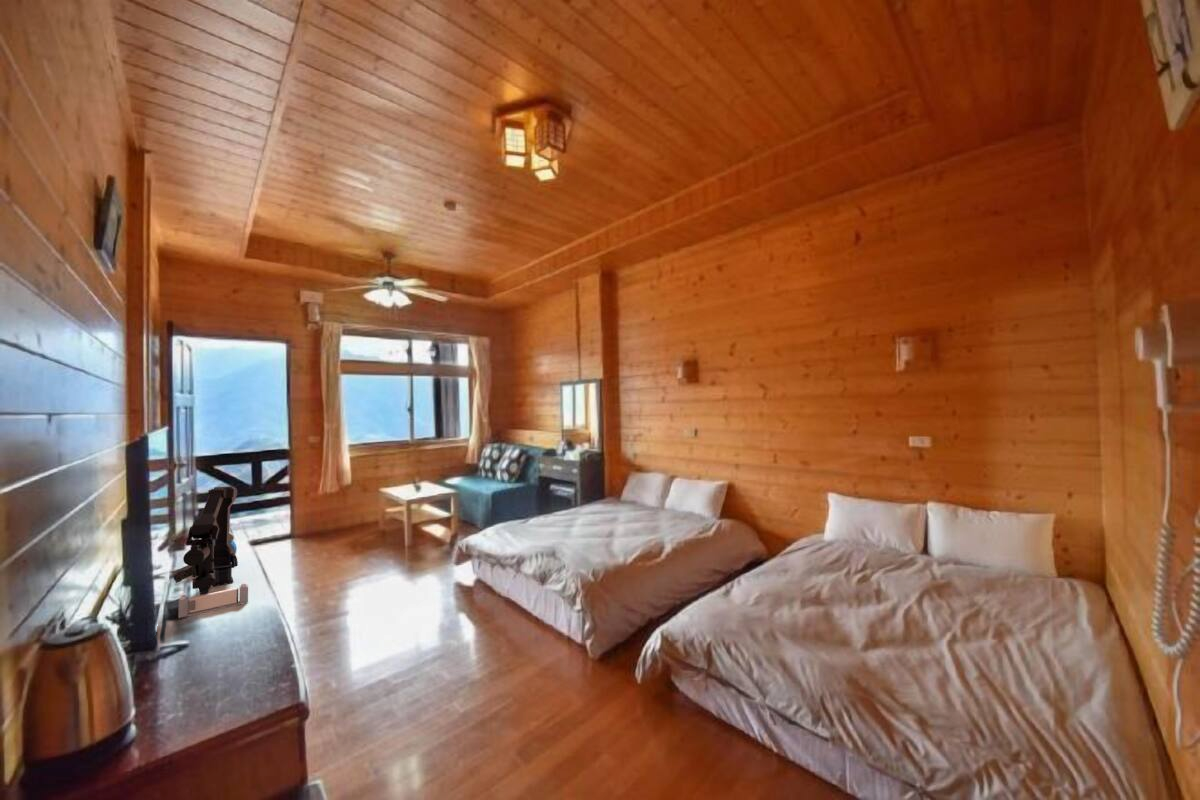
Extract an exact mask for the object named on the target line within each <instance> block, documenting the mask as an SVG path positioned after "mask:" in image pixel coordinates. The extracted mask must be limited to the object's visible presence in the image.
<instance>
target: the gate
mask: <svg viewBox="0 0 1200 800" xmlns="http://www.w3.org/2000/svg"><path fill="white" fill-rule="evenodd" d="M194 600H195V610H191V611H189V612H190V613H192V612H196V611H201V610H205V609H210V608H214V607H219V606H223V605H228V604H232V603H238V601H239V588H238V587H234V588H229V589H223V590H219V591H215V592H214V591H213V592H210V593H209V592H208V594H204V595H195V596H190V597H189V601H194Z"/></svg>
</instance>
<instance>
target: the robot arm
mask: <svg viewBox="0 0 1200 800" xmlns="http://www.w3.org/2000/svg"><path fill="white" fill-rule="evenodd" d="M207 491H208V492H207V500H206V501H205V504H204V507H203V510H202V513H201V514H200V516H199V517H198V518H196V519H194V521H193V523H192V524H191V526H190V527H189V530H188V533H187V538H186V542H185V546H190V549H188V550H187V552H185V554H184V555H183V557H182V560H183V562H184V564H186V565H185V566H182V567H180V568H178V569H176V570H174V571H172V572H171V573H172V574H171V576H172V578H173V581H175V583H180V582H182V581H183V580H186V579H188V578H190V577H191V578H192V584H191V585H192V590H194V589H195V590H196V589H198V591H199V594H200V595H204V594H209V592H210V590H211V588H212V587H218V586H223V585H227V584H233V583H234V578H233V576H232V573H233V569H234V568H236V567H238V566H239V565H238V558H237V556H236V554H235V553H234V548H233V547H232V546H231V544H230V543H229V534H230V525H231V524H230V523H231V521H230V517H231V506H232V505H233V504H234V503H235V500H236V498H237V496H238V489H237V488H235V487H234V485H230V486H214V488H212V489H211V488H210V489H208V490H207ZM214 541H215V546H214Z"/></svg>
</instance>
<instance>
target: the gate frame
mask: <svg viewBox="0 0 1200 800" xmlns="http://www.w3.org/2000/svg"><path fill="white" fill-rule="evenodd" d="M247 602H248V603H249V584H247V582H243V583H241V585H240V586H239V595H238V603H232V604H228V605H223V606H219V607H214V608H210V609H205V610H201V611H196V612H192V613H190V611H191V610H195V600H194V601H190V600H189V596H187V595H185V594H182V595H181V596H180V598H178V619H181V618H184V617H191V616H194V615H198V614H204V613H209V612H213V611H217V610H222V609H226V608H231V607H235V606H239V605H243V603H244V604H247Z"/></svg>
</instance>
